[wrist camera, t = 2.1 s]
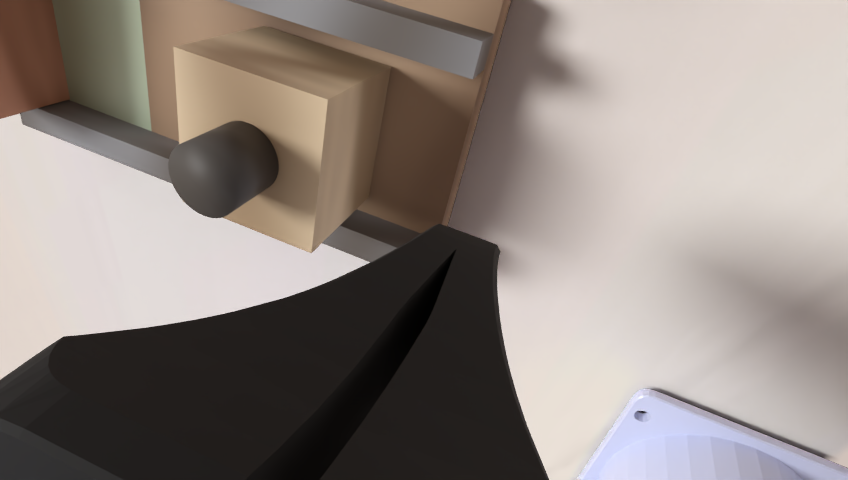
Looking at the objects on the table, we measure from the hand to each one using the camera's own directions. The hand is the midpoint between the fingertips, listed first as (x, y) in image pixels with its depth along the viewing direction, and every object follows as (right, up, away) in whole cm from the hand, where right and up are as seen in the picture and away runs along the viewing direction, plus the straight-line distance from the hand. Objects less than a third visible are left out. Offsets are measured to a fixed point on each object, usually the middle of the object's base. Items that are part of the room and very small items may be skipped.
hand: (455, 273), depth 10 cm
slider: (-4, +4, +5) cm, 8 cm away
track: (-7, +6, +7) cm, 11 cm away
